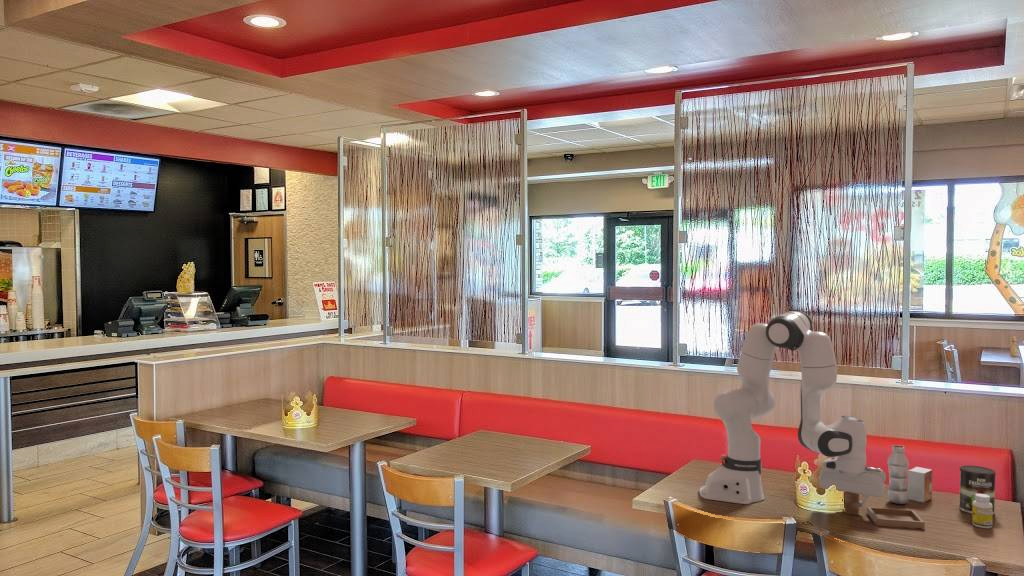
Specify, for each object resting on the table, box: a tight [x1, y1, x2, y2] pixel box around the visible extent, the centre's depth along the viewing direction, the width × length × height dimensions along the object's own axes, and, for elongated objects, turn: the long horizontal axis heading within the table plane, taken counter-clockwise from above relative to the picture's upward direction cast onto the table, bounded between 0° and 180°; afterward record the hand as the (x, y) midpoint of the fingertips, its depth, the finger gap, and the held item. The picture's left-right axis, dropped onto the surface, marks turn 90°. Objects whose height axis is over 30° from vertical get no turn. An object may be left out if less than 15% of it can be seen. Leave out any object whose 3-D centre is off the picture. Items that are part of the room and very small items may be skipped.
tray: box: [866, 506, 926, 530], centre depth 236 cm, size 14×12×2 cm
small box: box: [907, 466, 933, 504], centre depth 259 cm, size 8×6×10 cm
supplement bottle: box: [971, 494, 993, 529], centre depth 232 cm, size 5×5×10 cm
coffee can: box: [958, 465, 997, 516], centre depth 247 cm, size 10×10×14 cm
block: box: [843, 491, 860, 515], centre depth 245 cm, size 4×4×7 cm
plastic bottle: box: [886, 444, 910, 505], centre depth 254 cm, size 6×7×20 cm
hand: (851, 505), depth 245 cm, fingers closed on block, 5 cm apart
